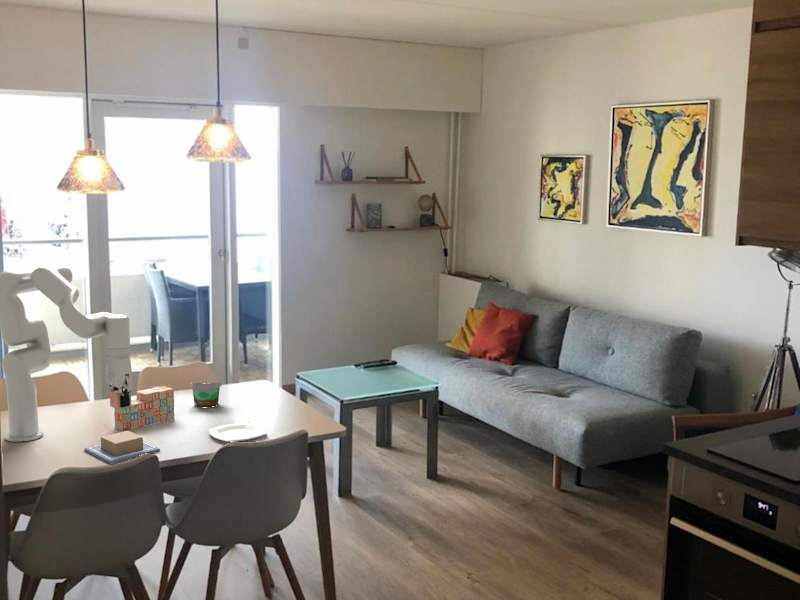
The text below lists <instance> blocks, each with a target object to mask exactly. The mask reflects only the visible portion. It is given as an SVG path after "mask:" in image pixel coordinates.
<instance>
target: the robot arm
mask: <svg viewBox="0 0 800 600" xmlns="http://www.w3.org/2000/svg"><path fill="white" fill-rule="evenodd" d="M72 281H73V272H72V270H71V269H70V268H69V266H67V265H66V264H63V263H52V264H46V265H45V264H43V265H38V266H30V267H23V268H15V269H10V270H6V271H5V270H4V271H3V272H0V332H1V337H2V340H3V342H4V344H5V345H6V346H9V347H18V346H21V345H26V347H22V348H18V349H14V350H11V351H9V352H7V354H6V355H4V357H3V358H2V362H1V368H2V371H3V376H4V378H5V379H4V380H5V386H6V397H7V414H8V415H7V416H8V432H6V433H5V434H4V440H6V441H8V442H12V443H13V442H14V443H22V442H23V441H24V442H30V441H35V440H37V439H40V438H42V437H43V436H44V430H42V429H40V428H39V414H38V413H39V412H38V397H37V396H38V394H37V385H36V383H35V380H34V379H33V378H32V374H36V373H38V372H41V371H45V370H46V369H48V368H49V366H50V365H51V363H52V353H51V345H50V340H49V339H50V338H49V333H48V327H47V324H46V323H45V321H44V320H43V319H42V317H40V316H37V315H35V314H29V315H27V314H26V312H25V311H26V309H25V305H24V303H23V301H22V300H21V298H20V297H19V296H18V295H19V294H24V293H25V294H26V293H30V292H37V291H40V292H41V294H43V295H44V296H45V297H46V298H48V300H50V301H51V302H52V303H53V304H54V305H55V306H56V307H57V308H58V310H59V316H60V318H61V320H62V322H63V324H64V325H65V327H67V328H68V329H69V331H71V332H72V333H73V334H75V335H76V336H78V337H79V338H81V339H84V340H85V339H86V340H88V339H93V338H96V337H100V336H104V335H105V345H106V359H105V383H106V384H108V385H109V387H110V392H112V391H117V390H120V392H121V396H120V407H122V408H123V407H127V406H130V392H131V391H132V389H133V369H132V362H131V356H132V354H131V335H130V332H131V331H130V330H131V329H130V318H129V317H128V315H125V314H113V313H110V312H107V311H106V312H105V311H102V312H98V313H92V314H88V315H85V314H83V313H82V312H81V311H80V310H79V309H78V308H77V307H76V306H75V303H76V302H77V301H78V299H79V296H80V291H79V289H78V288H77V287H76V286H74V285H73V284H72ZM123 389H124V391H123Z"/></svg>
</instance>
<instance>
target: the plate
mask: <svg viewBox="0 0 800 600" xmlns="http://www.w3.org/2000/svg"><path fill="white" fill-rule="evenodd" d="M208 433H209V435H210V436H211V437H212V438H214V439H216V440H218V441H219V440H220V441H223V442H226V443H228V442H230V441H241V442H246V440H247V441H251V439H252V440H255V439H258V438H260V437H262V436H265V435H267V434H268V432H267V431H266V430H265V428H264V427H262V426H260V425H259V424H254V423H251V422H239V423H238V422H236V423H230V424H224V425H219V426H215V427H211V428H208Z"/></svg>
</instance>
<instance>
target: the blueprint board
mask: <svg viewBox="0 0 800 600" xmlns="http://www.w3.org/2000/svg"><path fill="white" fill-rule="evenodd" d="M83 451H84V452H85V453H88V454H90V455H92V456H94V458H98V459H100V460H102V461H104V462H105V463H107V464H109V465H113V464H116V463H122V462H125V461H127V460H128V459H129V460H131V459H130V458H133V459H135V458H134V457H136V456H139V455H141V454H145V453H152V454H156V453H159V452H160V451H161V448H160V447H157V446H155V445H153V444H150V443H149V442H146V441H144V437H143V436H142V435H139V434H137V433H135V432H133V431H131V430H124V431H120V432H116V433H112V434H108V435H103V436H100V444H95V445H93V446H92V445H91V446H87V447H84V450H83ZM155 452H156V453H155ZM136 458H137V457H136Z"/></svg>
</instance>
